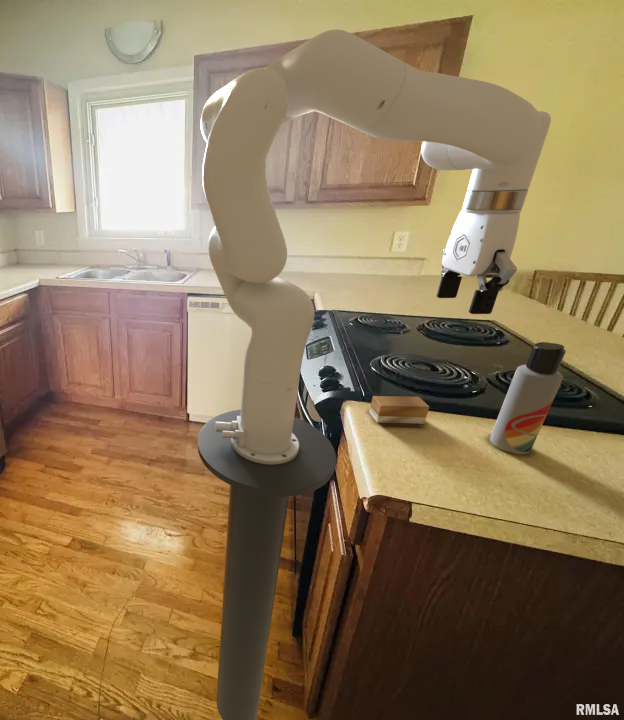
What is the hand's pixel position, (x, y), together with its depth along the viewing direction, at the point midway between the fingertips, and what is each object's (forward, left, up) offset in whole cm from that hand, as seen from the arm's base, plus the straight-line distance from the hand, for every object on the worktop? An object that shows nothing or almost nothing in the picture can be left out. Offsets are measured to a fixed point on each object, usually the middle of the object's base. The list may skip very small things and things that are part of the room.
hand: (461, 305), depth 70 cm
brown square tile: (-6, 0, -24) cm, 25 cm away
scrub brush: (-6, 0, -24) cm, 25 cm away
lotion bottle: (+10, -8, -24) cm, 28 cm away
